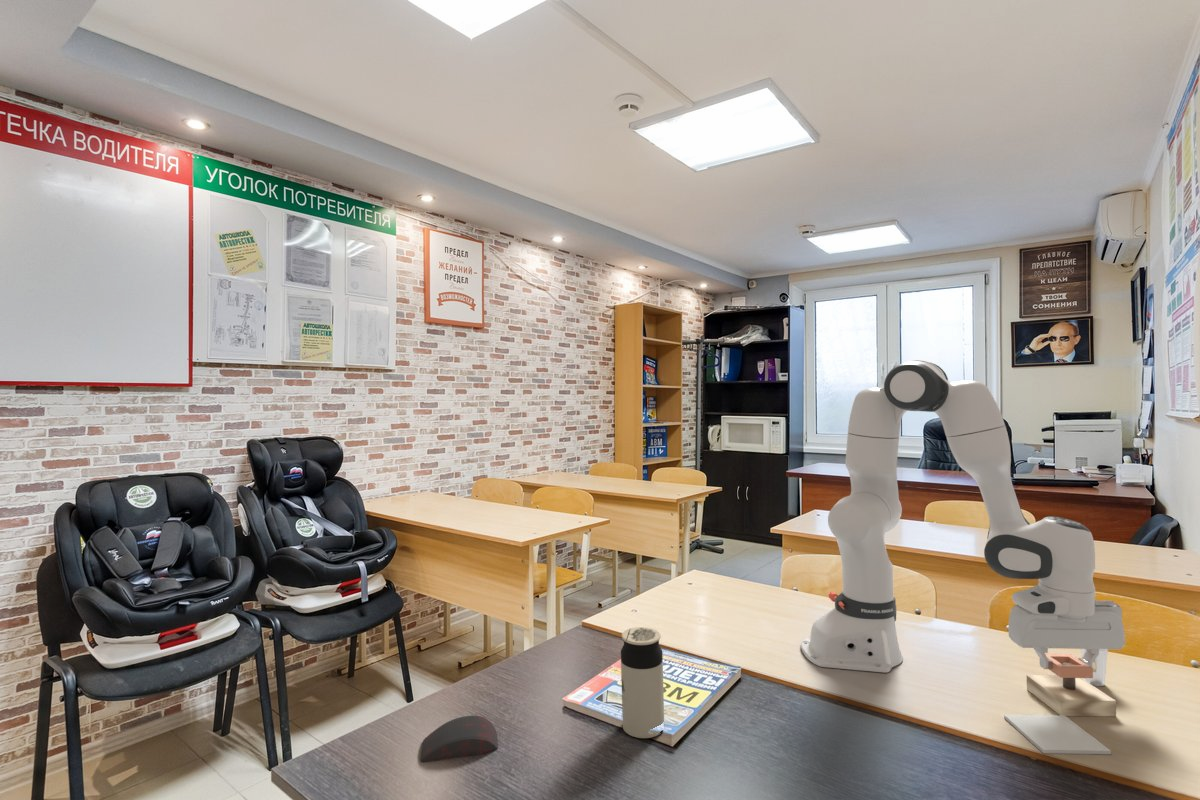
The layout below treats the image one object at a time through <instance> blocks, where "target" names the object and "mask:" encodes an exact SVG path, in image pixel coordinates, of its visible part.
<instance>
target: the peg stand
mask: <svg viewBox="0 0 1200 800" xmlns="http://www.w3.org/2000/svg"><path fill="white" fill-rule="evenodd" d="M1062 665H1073V664H1070V663H1062ZM1026 690H1027V691H1028V692H1029V693H1031V694H1032V695H1034V697H1036V698H1037V699H1039V700H1040V701H1041V702H1042V703H1044V704H1045V705H1046V706H1048V707H1049V708H1050V709H1052V710H1053V711H1054V712H1056V713H1057V714H1058V715H1063V716H1066V717H1117V700H1116V699H1114V698H1112V697H1111V696H1110V695H1108V694H1107V693H1105V692H1103V691H1102V690H1100V689H1098V688H1097V686H1094V685H1091V684H1089V683H1088V682H1086V681H1085V679H1084V678H1060V677H1059V676H1058V675H1056V674H1053V675H1051V674H1049V675H1048V674H1047V675H1045V674H1041V675H1040V674H1039V675H1038V674H1026Z"/></svg>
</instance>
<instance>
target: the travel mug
mask: <svg viewBox="0 0 1200 800" xmlns="http://www.w3.org/2000/svg"><path fill="white" fill-rule="evenodd" d="M661 637H662V636H661V633H660V632H659V631H658V630H657V629H654V628H652V627H647V626H639V627H638V626H637V627H636V626H635V627H631V628H627V629H626V630H623V632H622V633H621V639H622V640H623V641H622V642H623V645H622V647H621V650H620V673H621V674H620V675H621V676H620V677H621V704H622V705H621V708H622V709H621V710H622V711H621V712H622V717H621V718H622V729H623V731H624V732H625V733H626V734H627V735H629V736H631V737H633V738H634V737H635V738H637V739H650V738H654V737H657V736H659V735H660V734H656V733H653V734H649V733H648V731H649V730H650V729H653V728H655V727H657V726H659V725H661V724H662V723H663V722H664V723H665V703H664V702H665V699H664V694H665V693H664V666H663V665H664V662H663V661H664V659H663V658H664V657H663V656H664V655H663V650H662V647H661V645H660V639H661Z"/></svg>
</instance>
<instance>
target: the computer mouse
mask: <svg viewBox="0 0 1200 800" xmlns="http://www.w3.org/2000/svg"><path fill="white" fill-rule="evenodd" d="M498 741H499V740H498V732H497V730H496V727H494V724H493V723H492V722H491V721H490V719H488V718H486V717H483V716H481V715H465V716H459V717H456V718H454V719H451V720H449V721H447V722H445V723H443V724H442V725H440V726H439V727H437V728H436V729H434V730H433V731H432V732H431V733H429V734H428V735H427V736H426V737H424V739H423V741H422V745H421V752H420V757H419V758H420V762H421V763H428V762H434V761H436V762H437V761H444V760H449V759H457V758H463V757H464V758H465V757H470V756H476V755H477V756H478V755H483V754H486V753H489V752H490V753H491V752H493V751H496V750H498V749H499V742H498Z"/></svg>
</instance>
